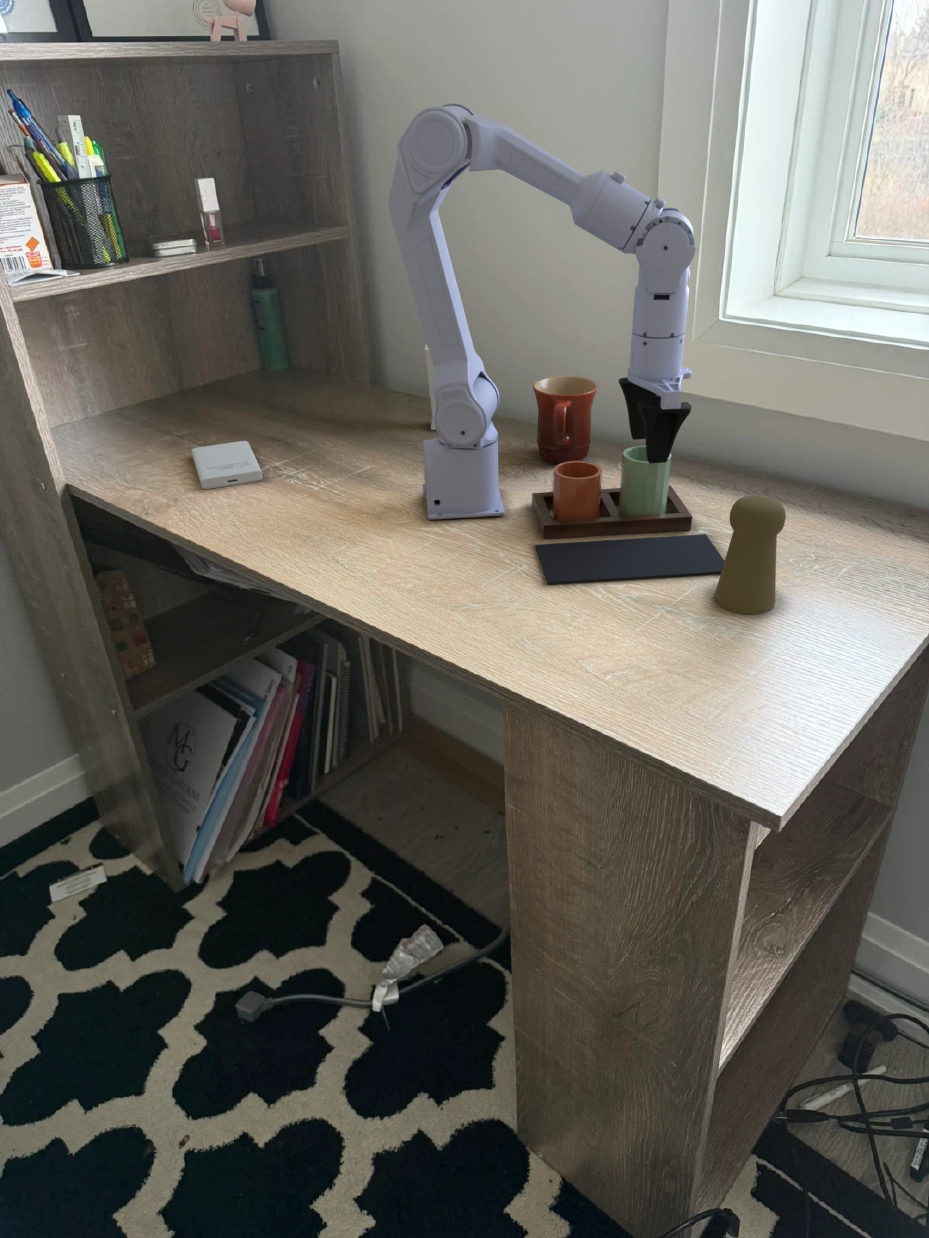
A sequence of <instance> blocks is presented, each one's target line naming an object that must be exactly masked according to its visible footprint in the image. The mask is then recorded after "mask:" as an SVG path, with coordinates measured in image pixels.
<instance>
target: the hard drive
mask: <svg viewBox="0 0 929 1238" xmlns="http://www.w3.org/2000/svg"><path fill="white" fill-rule="evenodd" d="M190 453H191V456H192V457H191V458H192V460H193V463H194V466H195V469H196V474H197V475H198V479H199V482H200V486H201V489H202V490H210V489H216V488H223V487H229V486H235V485H242V484H248V483H254V482H255V483H256V482H260V481H262V480H263V479H264V478H263V471H262V469H261V467H260V465H259V462H258V461H257V458H256V456H255V454H254V452H253V449H252V447H251V444H250V443H249V441H247V440H240V441H233V442H227V443H219V444H212V445H205V446H199V447H194V448H191V452H190Z"/></svg>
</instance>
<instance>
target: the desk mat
mask: <svg viewBox="0 0 929 1238" xmlns="http://www.w3.org/2000/svg"><path fill="white" fill-rule="evenodd" d="M535 550H536V553H537V556H538V559H539V563H540V565H541V568H542V571H543V574H544V577H545V580H546V581H545V582H546V584H547V585H548V586H551V585H566V584H567V585H568V584H582V583H584V584H585V583H598V582H599V583H600V582H614V581H629V580H645V579H659V578H661V579H662V578H676V577H677V578H678V577H695V576H707V575H709V576H710V575H721V571H722V568H723V565H724V561H725V558H723V556H722V555H721V553H720V552H719V550H718V549H717V547H716V546H715V545H714V544H713V542H712V541H711V540H710V538H709V536H708V534H706V533H704V534H703V533H702V534H688V535H687V534H686V535H670V536H653V537H640V538H622V539H621V538H620V539H607V540H606V539H605V540H588V541H574V542H573V541H572V542H571V541H570V542H556V543H541V544H540V543H539V544H535Z"/></svg>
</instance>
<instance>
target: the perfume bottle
mask: <svg viewBox="0 0 929 1238" xmlns="http://www.w3.org/2000/svg"><path fill="white" fill-rule="evenodd" d="M424 355H425V362H426V363H425V364H426V365H425V366H426V372H427V373H426V375H427V380H428V390H429V400H430V407H431V408H430V409H431V423H430V430H432V431H437V430H436V428H435V423H434V415H435V410H436V400H435V396H434V393H433V376H434V366H433V362H432V359H431V355H430V352H429V348H428V345H427V343H426V344H425V345H424Z"/></svg>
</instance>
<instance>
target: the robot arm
mask: <svg viewBox="0 0 929 1238" xmlns="http://www.w3.org/2000/svg"><path fill="white" fill-rule="evenodd" d="M396 147H397V149H396V153H397V158H396V162H395V165H394V172H393V176H392V181H391V185H390V190H389V196H388V201H387V206H388V212H389V216H390V219H391V224H392V227H393V229H394V233H395V236H396V240H397V243H398V247H399V250H400V254H401V258H402V261H403V264H404V268H405V272H406V276H407V278H408V282H409V285H410V286H409V287H410V289H411V292H412V296H413V299H414V303H415V307H416V311H417V313H418V317H419V320H420V323H421V324H420V325H421V327H422V330H423V335H424V337H425V342H426V344H427V345H428V348H429V352H430V355H431V359H432V362H433V366H434V376H433V393H434V396H435V400H436V410H435V415H434V423H435V428H436V430H435V431H436V432H437V434H438V436H437V437H433V438H430V439H423V440H422V455H423V470H424V471H423V472H424V483H422V497H423V499H425V502H426V503H425V504H426V513H427V519H428V520H432V521H433V520H448V519H463V518H464V519H465V518H466V519H467V518H482V517H500V516H505V513H506V511H505V508H504V507H505V506H504V503H503V500H502V497H501V493H500V489H499V433H498V430H497V429H496V427H495V425H494V424H493V421H492V418H493V417H494V415H495V414H496V413H497V411H498V409H499V405H500V392H499V389H498V387H497V386H496V384H495V382H494V381H493V380H492V379H491V378H490V377H489V375H488V374H487V371H486V370H485V366H484V363H483V360H482V358H481V357H480V355H478V354H477V352H476V350H475V347H474V344H473V338H472V336H471V335H472V334H471V332H470V328H469V325H468V324H469V323H468V320H467V317H466V313H465V309H464V305H463V301H462V298H461V294H460V293H461V292H460V290H459V286H458V283H457V279H456V275H455V272H454V267H453V263H452V260H451V257H450V252H449V248H448V244H447V240H446V236H445V233H444V230H443V225H442V222H441V218H440V213H439V209H440V206H441V204H442V203H443V201H444V200H445V198H446V196H447V194H448V192H449V190H450V189H451V187H452V185H453V183H454V181H455V180H456V179H457V178H458V177H459V176H460V175H461V174H462V173H464V172H465V170H467V169H468V170H469V172H484V171H497V170H498V171H499V170H500V171H503V172H505V173H507V174H509V175H511V176H513V177H515V178H516V179H518V180H520V181H522V182H524V183H526V184H528V185H530V186H532V187H534V188H536V189H537V190H539V191H541V192H543V193H544V194H546V195H549V196H550V197H552V198H554V199H556V200H558V201H560V202H562V203H563V204H566V205H568V207H569V209H570V210H571V211H570V212H571V216H572V220H573V224H574V225H575V226H577V227H578V228H580V229H582V230H583V231H585V232H587V233H588V234H590V235H592V236H594V237H595V238H597V239H599V240H601V241H603V242H604V243H606V244H608V245H609V246H611V247H613V248H615V249H616V250H618V251H620V252H621V253H623V254H625V255H629V254H632V255H635V256H636V260H637V263H638V266H639V267H638V281H637V285H636V286H635V288H634V299H633V312H632V328H631V329H632V330H631V341H630V358H629V367H628V370H627V376H626V377H620V378H619V379H618V384H619V386H620V388H621V391H622V393H623V396H624V400H625V404H626V409H627V416H628V424H629V430H630V431H629V432H630V436H631V439H632V440H633V441H634V440H645V445H646V454H647V459H648V462H649V463H666V462H667V460H668V458H669V455H670V453H671V452H672V449H673V446H674V444H675V440H676V438H677V435H678V433H679V431H680V429H681V427H682V425H683V423H684V422H685V421H686V419H687V417H688V416H689V415H690V414H691V411H692V405H691V404H690V403H689V402H688V401H682V397H683V390H682V389H681V387H682V383H683V380H686V379H691V378H692V374H693V373H692V370H690V368H688V367H682V366H683V358H684V347H685V336H686V327H687V320H688V319H687V318H688V307H689V297H690V288H689V286H688V283H689V281H690V279H691V269H690V265H691V263H692V261H693V260H694V258H695V254H696V251H697V248H696V246H695V244H696V243H695V234H694V229H693V226H692V223H691V222H690V220H689V219H688V218H687V216H685V214H682V212H681V211H680V210H679V208H677V207H671V206H667V207H666V201H665V200H664V199H663V198H661V197H660V196H657V197H656V199H653V198H651V197H649V196H647V195H646V194H645V193H643V192H641V191H639V190H638V189H636V188H634V187H632V186H631V185H629V184H627V183H626V182H625V180H626V178H627V176H626V175H625V174H624V173H623V172H620V171H619V170H614V172H613V174H611V173H609V172H607V171H605V170H602V169H601V170H598V171H595V172H593V173H590V174H583V173H581V171H579V170H577V169H576V168H574V167H573V166H570V165H569V164H567V163H566V162H565V161H563V160H561V159H559V158H558V157H556V155H554V154H552V153H550V152H549V151H547V150H545V148H543V147H541V146H540V145H538V144H537V143H535V142H533V141H532V140H531V139H529V138H527V137H525V136H524V135H522V134H521V133H519V132H518V131H516V130H515V129H513V128H511V127H510V126H508V125H506V124H504V123H502V122H500V121H498V120H496V119H494V118H492V117H490V116H488V115H485V114H482V113H476V114H475V112H473V111H472V109H470V108H469V107H467V106H466V105H464V104H460V103H452V102H451V103H446V104H443V105H441V106H430V107H427V108H424V109H422V110H420V111H418V112H417V113H416V114H415V115H414V117H413V118H412V119H411V120H410V122H409V124H408V125H407V127H406V128H405V130H404V131H403V133H402V135H401V136H400V138H399V140H398V141H397V143H396Z"/></svg>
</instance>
